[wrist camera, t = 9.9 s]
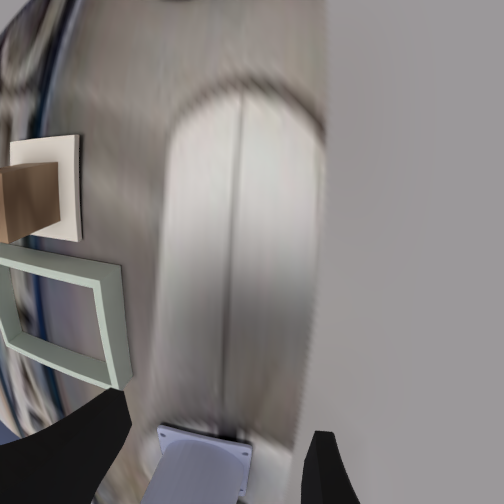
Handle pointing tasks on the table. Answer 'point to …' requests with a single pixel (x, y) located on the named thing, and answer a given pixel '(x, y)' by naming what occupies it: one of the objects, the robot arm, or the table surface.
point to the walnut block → (28, 199)
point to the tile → (68, 178)
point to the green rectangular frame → (107, 305)
